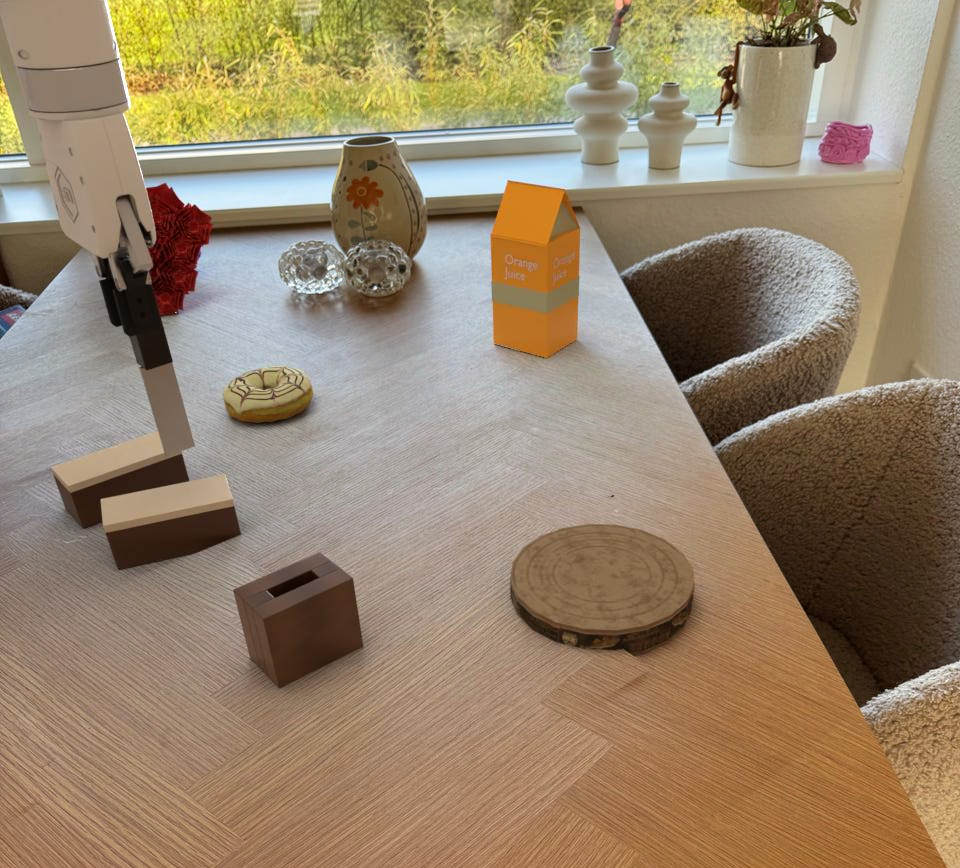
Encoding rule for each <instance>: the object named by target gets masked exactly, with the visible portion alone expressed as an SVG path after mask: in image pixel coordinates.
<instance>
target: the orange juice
mask: <svg viewBox="0 0 960 868" xmlns="http://www.w3.org/2000/svg"><path fill="white" fill-rule="evenodd" d="M506 181H507V182H506V186H505V188H504V191H503V195H502V198H501V201H500V204H499V208H498V210H497V213H496V214H497V215H496V217H495V220H494V223H493V227H492V229H491V233H490V263H491V265H490V267H491V268H490V269H491V281H490V283H491V285H490V286H491V301H492V302H491V303H492V331H493V332H492V333H493V336H492V337H493V344H494V343H495V344H499V345H503V346H507V347H509V348H513V349H516V350H519V351H518V352H520V351H523V352H522V353H524V352H527V353H531V354H533V355H532V356H535V355H537V356H536V357H539V356H541V357H540V358H543V357H544V359H548V358H550V357H552V356H553V355H555V354H556V353H558V352H559V351H561V350H562V348H563V349H564V348H566V347H568V346H569V345H571V344H572V343H575V342H576V341H577V340H578V331H579V330H578V323H579V296H580V259H581V257H580V256H581V254H580V253H581V226H580V224H579V221H578V219H577V216H576V214H575V210H574V208H573V207H572V204H571V201H570V199H569V197H568V194H567V192H566V191H567V190H566V189H565V188H560V187H554V186H549V185H548V186H547V185H541V184H535V183H529V182H521V181H514V180H509V179H507V180H506ZM576 339H577V340H576ZM575 340H576V341H575ZM570 343H571V344H570ZM567 345H568V346H567ZM565 346H566V347H565ZM560 349H561V350H560ZM516 350H515V351H516ZM557 351H558V352H557ZM527 353H526V354H527ZM554 353H555V354H554ZM531 354H530V355H531ZM549 356H550V357H549Z"/></svg>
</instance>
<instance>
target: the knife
mask: <svg viewBox="0 0 960 868" xmlns="http://www.w3.org/2000/svg"><path fill="white" fill-rule="evenodd" d="M127 260H128V258H126V259H122V260H120V264H121V268H122V264H123V261H127ZM108 267H109V271H110V274H111V277H112V281H113V284H114V287H115V289H117V287H116V285H115V282H114V278H113V274H112V271H111V267H110V263H108ZM151 285H152V283H151ZM152 289H153V286H152ZM153 293H154V290H153ZM154 297H155V294H154ZM155 301H156V297H155ZM156 306H157V310H158V314H159V318H160V322H161V327H160V328H159V329H157V330H153V331H150V332H146V333H142V334H139V335H135V336H131V337H130V336H128V338H129V341H130V344H131V347H132V351H133V354H134V358H135V361H136V364H137V365H139V367H138V369H139V372H140V375H141V379H142V382H143V386H144V388H145V392H146V395H147V399H148V402H149V406H150V409H151V413H152V416H153V419H154V423H155V426H156V429H157V431H158V433H159V436H160V440H161V443H162V446H163V450H164V453H165V456H170V455H173V454H175V453H178V452H181V451H182V452H183V451H186V450H189V449H192V448H194V447H196V445H195V440H194V437H193V434H192V429H191V426H190V423H189V419H188V415H187V412H186V408H185V404H184V400H183V396H182V393H181V389H180V385H179V382H178V378H177V375H176V371H175V367H174V364H173V363H174V360H173V357H172V353H171V349H170V345H169V342H168V338H167V334H166V331H165V327H164V324H163V320H162V315H161V316H160V312H159V308H158V305H157V301H156Z"/></svg>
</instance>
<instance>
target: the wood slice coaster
mask: <svg viewBox="0 0 960 868" xmlns="http://www.w3.org/2000/svg"><path fill="white" fill-rule="evenodd" d="M510 570H511V571H510V577H509V588H510V591H509V592H510V593H509V594H510V600H511V603H512V606H513V607H514V610H515V612H516V615H517V616H518V617H519V618H520V619H521V621H523V622H524V623H525V625H527V626H528V628H530V629H531V630H532V631H533V632H535V633H538V634H539V635H541V636H544V637H545V638H547V639H549V640H551V641H553V642H555V643H558V644H562V645H566V646H570V647H573V648H578V649H582V650H598V651H619V650H624V651H625V652H627V653H628V654H630V655H631V656H639V655H644V654H646V653H649V652H651V651H653V650H656V649H658V648H660V647H663V646H666V645H667V644H669V643H670V642H671V641H672V640H674V638H676V637H677V636H678V635H679V634H680V633H681V632H683V631H684V629H685V627H686V625H687V623H688V621H689V618H690V616H691V613H692V609H693V601H694V593H695V585H696V584H695V576H694V567H693V566H692V564H691V563H690V561H689V560H688V559H687V557H686V556H685V554H684V552H683V551H682V550H680V549H679V548H677V546H675V545H673V544H672V543H671V542H669V541H668V540H667V539H665V538H663V537H660V536H658V535H655V534H653V533H651V532H648V531H645V530H644V529H639V528H635V527H630V526H624V525H620V524H605V523H585V524H579V525H573V526H566V527H561V528H558V529H556V530H553V531H551V532H547V533H544V534H542V535H539V536H538V537H537V538H535V539H534V540H532V541H531V542H529V543H527V545H525V546H523V547H522V549H521V550H520V552H518V554H517V555H516V557H515V559H513V561H512V563H511V569H510Z"/></svg>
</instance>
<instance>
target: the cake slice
mask: <svg viewBox="0 0 960 868" xmlns="http://www.w3.org/2000/svg"><path fill="white" fill-rule="evenodd" d="M101 510H102V521H103V522H102V527H103V530H104V533H105V536H106V539H107V542H108V545H109V548H110V550H111V554H112V556H113V560H114V562H115V565H116V568H117V570H123V569H124V570H125V569H128V568H133V567H135V566H137V567H138V566H141V565H146V564H151V563H155V562H160V561H165V560H170V559H174V558H178V557H183V556H187V555H192V554H196V553H197V554H198V553H200V552H202V551H205V550H207V549H209V548H213V547H214V546H218V545H220V544H222V543H225V542H227V541H229V540H232V539H234V538H237V537H239V536H242V532H241V527H240V523H239V519H238V515H237V511H236V506H235V501H234V498H233V495H232V491H231V488H230V485H229V482H228V479H227V474H226V473H224V474H219V475H215V476H208V477H204V478H199V479H195V480H189V482H184V483H179V484H174V485H169V486H164V487H159V488H154V489H149V490H144V491H139V492H134V493H129V494H124V495H119V496H114V497H109V498H104V499H101Z"/></svg>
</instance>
